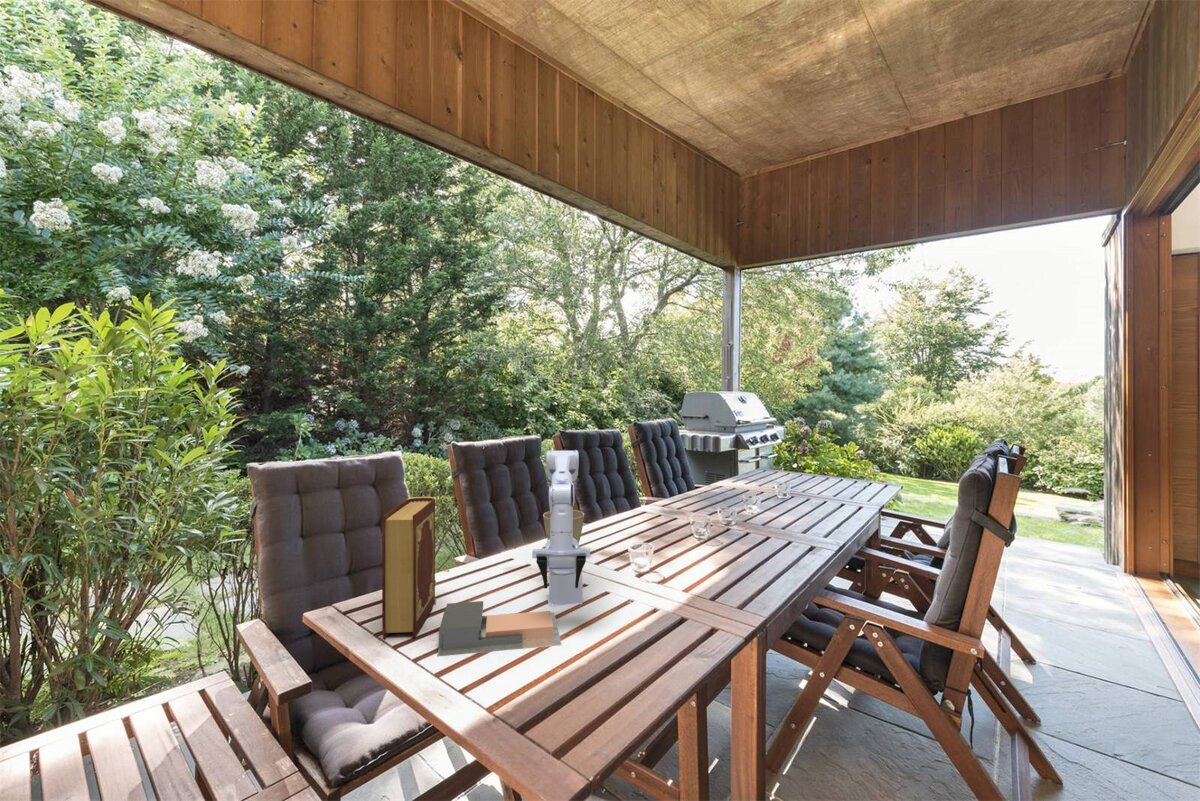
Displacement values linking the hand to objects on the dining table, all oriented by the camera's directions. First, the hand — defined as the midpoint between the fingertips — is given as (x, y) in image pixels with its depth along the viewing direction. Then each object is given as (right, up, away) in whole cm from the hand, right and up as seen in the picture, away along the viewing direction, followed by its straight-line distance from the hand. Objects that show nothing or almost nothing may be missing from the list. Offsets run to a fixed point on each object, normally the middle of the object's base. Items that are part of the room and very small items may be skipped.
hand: (561, 587), depth 125 cm
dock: (-15, -11, -2) cm, 18 cm away
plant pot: (-4, -11, +56) cm, 57 cm away
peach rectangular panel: (-10, -10, -1) cm, 15 cm away
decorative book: (-40, -11, +6) cm, 42 cm away
